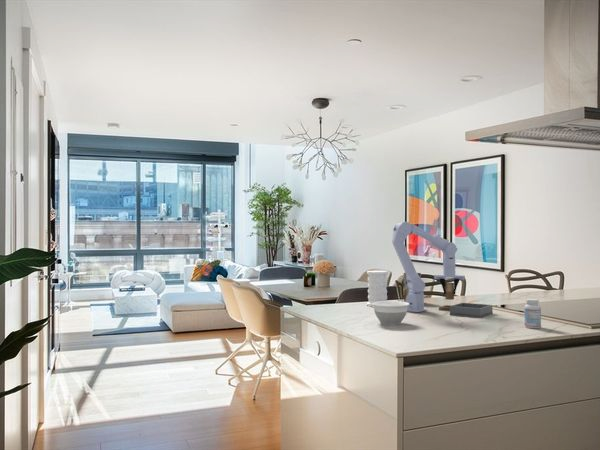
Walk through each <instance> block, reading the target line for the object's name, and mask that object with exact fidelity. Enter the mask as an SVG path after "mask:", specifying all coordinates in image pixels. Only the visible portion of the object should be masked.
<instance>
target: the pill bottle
mask: <svg viewBox="0 0 600 450" xmlns="http://www.w3.org/2000/svg"><path fill="white" fill-rule="evenodd" d="M525 303H526V304H525V305H524V308H523V309H524V313H523V314H524V316H523V317H524V327H525V328H527V329H533V330H534V329H541V328H542V309H541V308H542V307H541V306H540V305H539V303H540V301H539V299H538V298H526V299H525Z"/></svg>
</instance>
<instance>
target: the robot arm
mask: <svg viewBox="0 0 600 450" xmlns="http://www.w3.org/2000/svg"><path fill="white" fill-rule="evenodd" d="M392 231H393V232H392V241H391V242H392V245H393V247H394V250H395V252H396V255H397V257H398V259H399V261H400V264H401V266H402V268H403V270H404V273H406V279H407V286H408V288H409V294H408V295H407V296H406V302H407V303H409V304H410V305H408V306H407V312H412V313H421V312H425V311H427V310H428V308H425V296H424V295H425V293H424V290H425V288H426V282H425V281H424V280H422V277H421V278H420V276H419V275H418V274H417V273H418V272H417V270H416V268H415V266H414V264H413V261H412V259H411V256H410V255H409V251H408V250H407V249H408V248H407V247H406V245H405V241H406V239H407V237H408V236H409V235H410V234H411V235H412V234H414V235H416V236H418V237H421V238H422V239H425V240H426V241H428V243H429V245H430V246H433V247H434V248H435V249H438V250H440V251H441V252H442V255H443V256H442V257H443V258H442V259H443V260H442V263H443V266H442V267H443V271H442V272H443V274H434V276H433V277H434V278H433V280H439V282H440V285H441V287H442V291H443V294H444V295H445V294H446V293H445V283H446V280H453V283H454V296H455V295H456V291H457V287H458V285H459V283H460V281H461V280H462V281H465V280H466V276H465V275H458V274H456V253H457V252H458V248H457V245H456V244H455V243H454V242H452V241H449V239H445V238H443V237H442V236H441V235H440V234H431V233H429V232H427V231H426V230H424V229H422V228H420V227H419V226H417V225H415V224H413V223H410V222H409V221H398V222H397V223H396V224H395V225H394V227H393V230H392Z"/></svg>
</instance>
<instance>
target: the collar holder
mask: <svg viewBox="0 0 600 450" xmlns="http://www.w3.org/2000/svg"><path fill="white" fill-rule="evenodd" d="M450 306H452V305H451V304H450V305H448V304H445V305H441V306H438V310H439V311H446V312H447V311H448V312H450Z"/></svg>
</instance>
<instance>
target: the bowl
mask: <svg viewBox="0 0 600 450" xmlns="http://www.w3.org/2000/svg"><path fill="white" fill-rule="evenodd" d="M372 305H373V306H374V307H373V311H374V315H375V316H376V318H377V319H378V320H379V322H380V324H381V325H384V326H399V325H401V324H402V322H403V321H404V319H405V318H406V315H407V313H408V311H407V306H408V305H410V304H409V303H407V302H404V301H400V300H398V301H397V300H387V301H378V302H373V303H372Z"/></svg>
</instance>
